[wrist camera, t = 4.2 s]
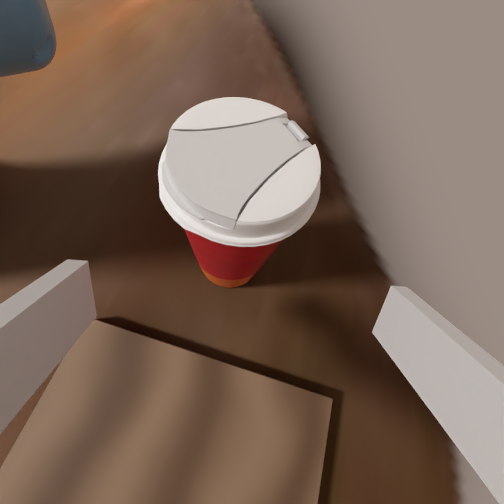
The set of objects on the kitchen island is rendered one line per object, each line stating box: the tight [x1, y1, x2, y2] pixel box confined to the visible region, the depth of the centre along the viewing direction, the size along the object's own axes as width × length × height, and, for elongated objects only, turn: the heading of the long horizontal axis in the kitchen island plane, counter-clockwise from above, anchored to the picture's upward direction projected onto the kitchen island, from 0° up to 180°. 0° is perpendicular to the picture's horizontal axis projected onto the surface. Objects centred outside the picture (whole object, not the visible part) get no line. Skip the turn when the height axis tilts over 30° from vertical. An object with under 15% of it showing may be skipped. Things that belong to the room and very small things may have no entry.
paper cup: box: [158, 97, 321, 288], centre depth 17 cm, size 8×8×14 cm
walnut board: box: [0, 319, 333, 504], centre depth 16 cm, size 20×14×2 cm
